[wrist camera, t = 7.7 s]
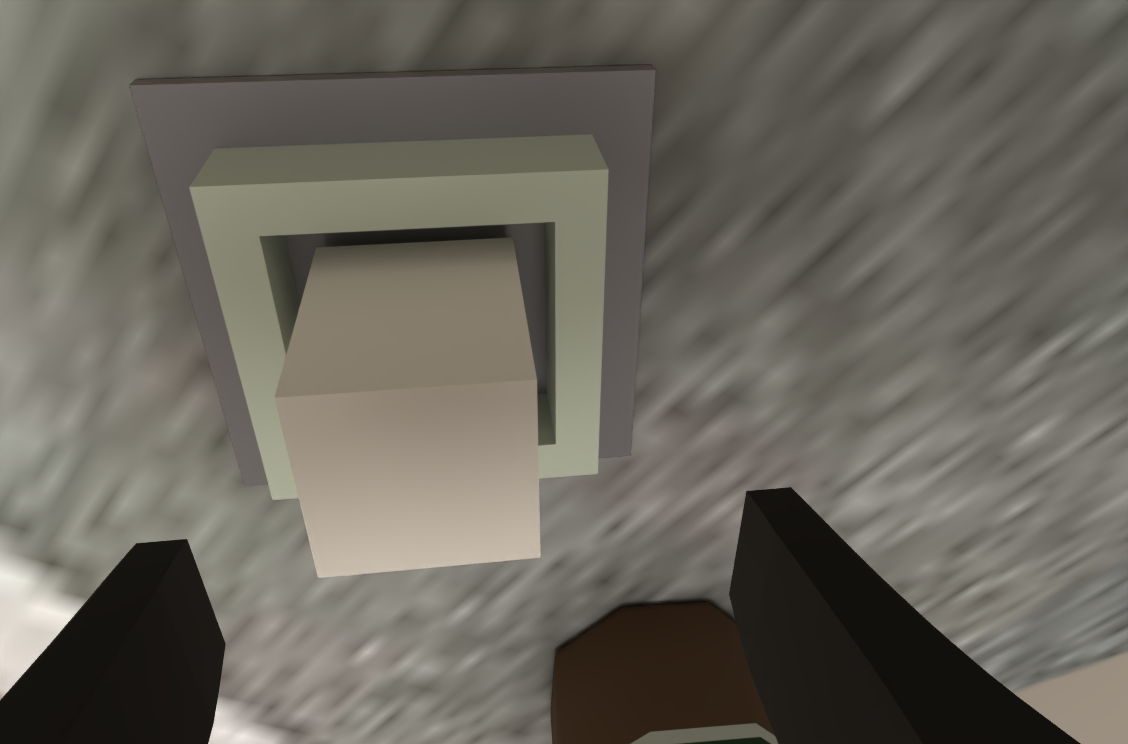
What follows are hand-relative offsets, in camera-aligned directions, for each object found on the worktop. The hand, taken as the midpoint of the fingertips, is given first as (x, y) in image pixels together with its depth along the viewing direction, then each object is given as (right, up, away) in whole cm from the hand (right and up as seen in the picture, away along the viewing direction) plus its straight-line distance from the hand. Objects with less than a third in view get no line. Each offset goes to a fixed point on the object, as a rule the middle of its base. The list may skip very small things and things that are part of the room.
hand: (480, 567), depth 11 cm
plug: (-2, +4, +8) cm, 9 cm away
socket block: (-2, +4, +8) cm, 9 cm away
